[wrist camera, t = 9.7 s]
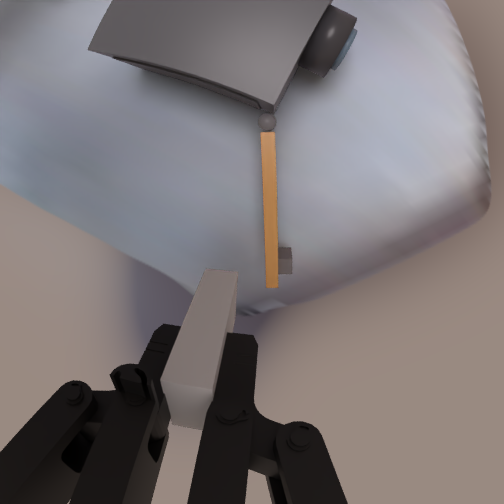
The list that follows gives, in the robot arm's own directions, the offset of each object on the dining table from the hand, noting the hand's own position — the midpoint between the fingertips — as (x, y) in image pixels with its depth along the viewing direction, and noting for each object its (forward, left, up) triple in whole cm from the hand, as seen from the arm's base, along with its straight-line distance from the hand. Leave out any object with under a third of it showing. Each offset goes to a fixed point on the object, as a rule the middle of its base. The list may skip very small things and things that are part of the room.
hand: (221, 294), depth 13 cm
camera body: (-6, +13, -11) cm, 19 cm away
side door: (+1, +4, -10) cm, 11 cm away
